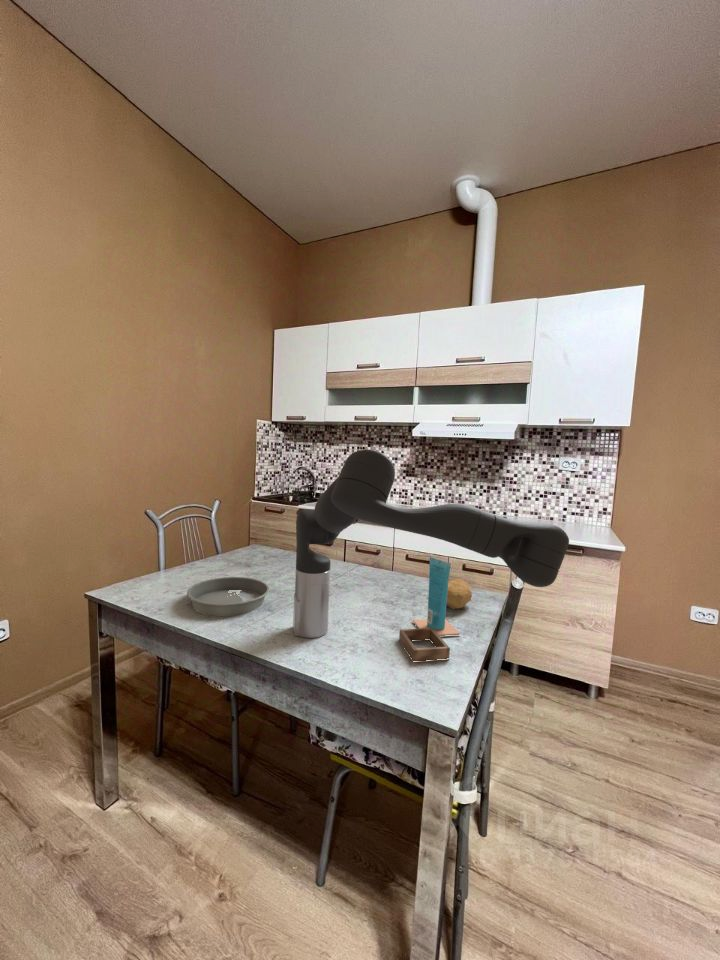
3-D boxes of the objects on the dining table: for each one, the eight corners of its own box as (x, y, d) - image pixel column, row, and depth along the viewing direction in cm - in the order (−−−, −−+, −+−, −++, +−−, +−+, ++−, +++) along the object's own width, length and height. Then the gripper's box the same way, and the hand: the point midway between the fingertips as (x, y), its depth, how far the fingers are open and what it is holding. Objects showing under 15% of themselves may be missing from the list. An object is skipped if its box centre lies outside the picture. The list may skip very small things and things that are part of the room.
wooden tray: (413, 662, 97) (414, 650, 97) (399, 640, 108) (399, 629, 107) (449, 659, 99) (449, 648, 99) (431, 638, 110) (432, 627, 109)
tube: (451, 628, 115) (456, 561, 113) (441, 633, 111) (446, 564, 110) (429, 619, 120) (433, 555, 118) (419, 624, 116) (423, 558, 115)
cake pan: (238, 625, 113) (239, 609, 112) (168, 610, 121) (168, 595, 120) (283, 596, 136) (283, 583, 136) (221, 584, 144) (221, 572, 144)
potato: (432, 610, 129) (434, 585, 129) (446, 597, 142) (448, 574, 141) (463, 617, 125) (465, 592, 124) (474, 603, 137) (476, 580, 136)
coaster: (425, 638, 110) (425, 635, 110) (412, 622, 120) (412, 619, 119) (459, 636, 112) (459, 633, 112) (444, 620, 122) (444, 618, 122)
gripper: (520, 515, 85) (481, 503, 101) (457, 514, 82) (427, 502, 98) (517, 550, 86) (479, 533, 102) (455, 551, 83) (425, 533, 98)
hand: (453, 518), depth 100 cm, fingers open, 8 cm apart
